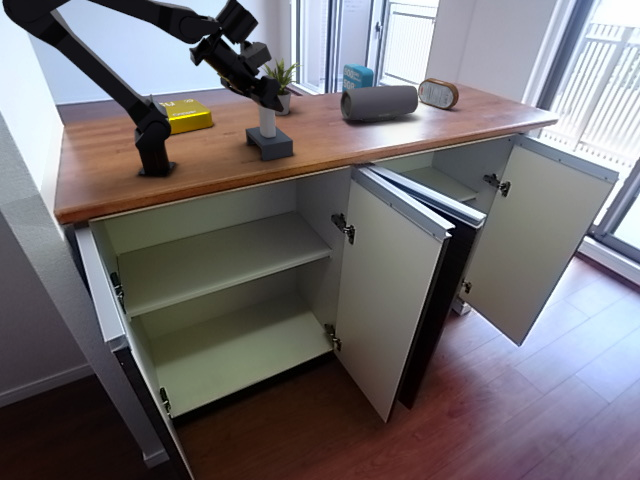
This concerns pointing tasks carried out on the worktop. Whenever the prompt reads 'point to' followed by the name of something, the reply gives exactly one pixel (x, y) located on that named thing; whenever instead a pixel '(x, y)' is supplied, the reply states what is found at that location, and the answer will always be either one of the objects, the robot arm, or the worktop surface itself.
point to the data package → (357, 77)
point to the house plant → (282, 84)
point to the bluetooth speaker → (378, 102)
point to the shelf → (270, 143)
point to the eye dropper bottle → (267, 122)
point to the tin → (438, 93)
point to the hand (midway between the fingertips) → (272, 105)
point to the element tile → (187, 115)
